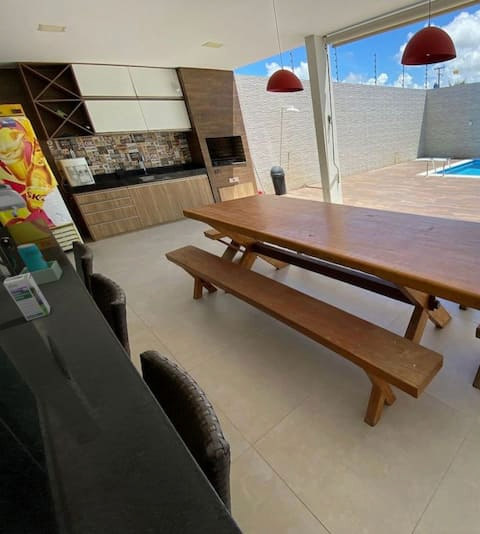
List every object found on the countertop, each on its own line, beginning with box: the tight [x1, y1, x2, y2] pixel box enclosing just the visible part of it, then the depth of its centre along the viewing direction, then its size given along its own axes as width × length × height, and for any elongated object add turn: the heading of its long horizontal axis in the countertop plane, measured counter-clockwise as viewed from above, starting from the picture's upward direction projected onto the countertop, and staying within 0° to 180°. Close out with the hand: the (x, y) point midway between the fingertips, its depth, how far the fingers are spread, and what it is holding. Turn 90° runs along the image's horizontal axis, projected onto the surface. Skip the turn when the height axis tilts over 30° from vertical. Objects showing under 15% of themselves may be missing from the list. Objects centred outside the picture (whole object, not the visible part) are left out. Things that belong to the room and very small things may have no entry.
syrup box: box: [3, 273, 51, 322], centre depth 102 cm, size 6×6×14 cm
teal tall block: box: [16, 242, 49, 272], centre depth 128 cm, size 6×6×15 cm
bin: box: [18, 260, 63, 286], centre depth 130 cm, size 10×10×6 cm
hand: (0, 219), depth 126 cm, fingers open, 8 cm apart
